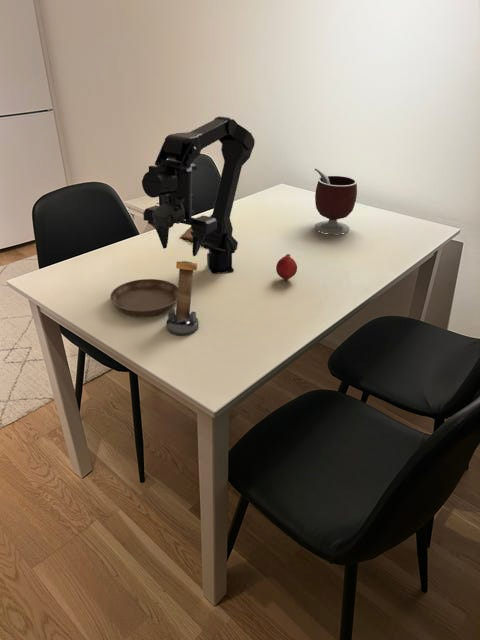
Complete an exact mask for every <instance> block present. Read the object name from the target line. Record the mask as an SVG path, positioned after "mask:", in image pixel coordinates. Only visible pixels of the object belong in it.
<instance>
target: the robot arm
mask: <svg viewBox="0 0 480 640" xmlns="http://www.w3.org/2000/svg"><path fill="white" fill-rule="evenodd" d="M218 141H219V143H220V144H221V150H220V151H221V154H222V158H223V167H222V171H221V175H220V179H219V184H218V188H217V193H216V197H215V201H214V206H213V210H212V211H213V212H212V214H210V216H207V215H204V214H203V215H201V216H198V217H192V216H194V215H195V210H193V209H192V204H193V203H192V201H193V200H194V199H195V194H194V193H192V191H193V189H192V188H193V186H192V185H193V171H197V170H198V166H197V165H196V164H195V163H194V161H196V160H197V159H199V157H200V156H201V151H202V150H204V148H207V147H209V146H211V145H212V144H213V143H215V142H218ZM255 142H256V140H255V137H254V136H253V135H252V133H251V132H250V131H249V130H248V129H246V128H245V127H243V126H242V125H240V124H239V123H238V122H237V121H236V120H235V119H233V118H232V117H227V116H217V117H215V118H214V119H212V120H211V121H209V122H207V123H205V124H203V125H200V126H199V127H197V128H195V129H193V130H191V131H188V132H176V133H172V134H171V133H170V134H168V135H167V136H166V137H165V139H164V142H163V143H162V145H161V148H160V150H159V153H158V155H157V158H156V159H155V162H154V165H149V166H148V171H147V172H146V173H144V175H143V177H142V179H141V184H142V185H141V187H142V190H143V191H144V193H145V194H146V195H147V196H148V197H149V198H153V199H154V198H158V197H163V196H164V199H163V203H162V204H160V205H153V206H149V207H147V208H145V209H144V210H143V221H146V222H147V224H148V225H151V226H152V227H153V229H155V231H156V233H157V235H158V238H159V241H160V244H161V246H162V249H166V248H167V247H168V244H169V233H170V232H169V231H170V229H171V228H173V227H174V224H178V225H179V224H183V225H188V226H190V227H191V228H192V230H193V231H192V232H190V233H191V235H192V236H193V243H192V251H191V252H192V256H193V257H196V256H197V255H198V253H199V250H200V249H201V247H203V246H204V247H203V248H204V249H208V252H207V254H206V260H207V261H206V266H207V268H208V269H209V270H210V272H211V273H212V274H213V275H214V274H222V273H230V272H231V273H232V272H234V271H235V270H234V268H233V254H235V253H236V251H237V250H238V245H239V243H238V240H236V238H234V236H233V231H234V230H233V224H232V221H231V215H232V214H231V213H232V209H233V204H234V201H235V196H236V193H237V188H238V186H239V185H238V184H239V180H240V175H241V173H242V168H243V165H244V164H245V163H247V162H248V160H249V159H251V156H252V155H251V154H252V153H253V149H254V147H255V144H256V143H255ZM202 243H203V246H201V244H202Z"/></svg>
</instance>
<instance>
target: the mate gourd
mask: <svg viewBox="0 0 480 640" xmlns="http://www.w3.org/2000/svg"><path fill="white" fill-rule="evenodd" d="M314 171H315V172H317V173H318V175H319V176H320V177H319V178H318V180H317V181H318V182H317V184H316V187H315V195H314V199H315V200H314V202H315V209H316V210H317V211H318V213H319V215H321V217H323V218H326V219H328V220H325V221H324V220H323V221H319V222H316V223H315V225H314V230H315V229H316V230H318V231H320V232H323V233H328V234H342V233H346V232H348V231H349V232H350V230H351V229H350V228H351V227H350V226H349V225H347V224H346V223H343V222H340V221H338V220H342V219H344V218H345V219H346V218H348V216H349V215H350V214H351V213H352V212H353V210H354V207H355V205H356V201H357V194H358V185H357V183H358V182H357V180H356V179H355V178H352V177H349V176H345V175H334V174H333V175H326V173H325V172H324V171H322V170H320V169H319V168H317V167H316V168H314ZM349 229H350V230H349ZM316 230H315V231H316ZM318 231H317V232H318ZM320 232H319V233H320ZM349 232H348V233H349ZM323 233H322V234H323ZM346 234H347V233H346Z"/></svg>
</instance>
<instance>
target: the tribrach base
mask: <svg viewBox="0 0 480 640" xmlns="http://www.w3.org/2000/svg"><path fill="white" fill-rule="evenodd" d="M167 316H168V317H167V320H166V324H165V325H166V330H167V332H168V333H169V334H170V335H174V336H179V337H183V336H190V335H192V334H195V333H196V332H197V331H198V330H199V319H198V318H197V312H196V311H190V314H189V318H187V319H183V318H177V317H176V309H175V308H170V309H169V310H168V312H167Z"/></svg>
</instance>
